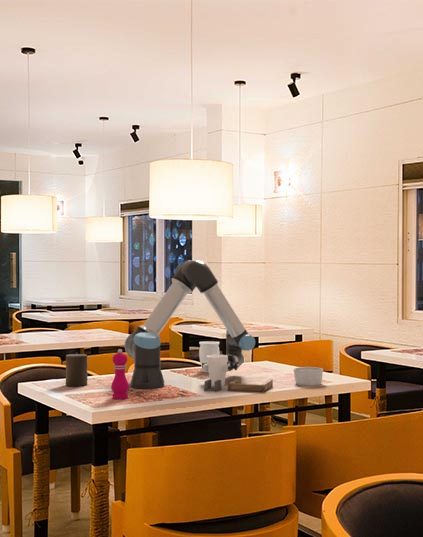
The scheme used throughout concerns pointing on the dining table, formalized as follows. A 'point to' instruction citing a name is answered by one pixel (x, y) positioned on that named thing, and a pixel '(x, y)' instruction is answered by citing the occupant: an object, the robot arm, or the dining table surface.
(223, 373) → the foam cup
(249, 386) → the end holder
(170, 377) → the dining table surface
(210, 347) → the jar
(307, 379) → the ramekin
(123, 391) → the pepper mill
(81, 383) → the pillar candle
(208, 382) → the clip
